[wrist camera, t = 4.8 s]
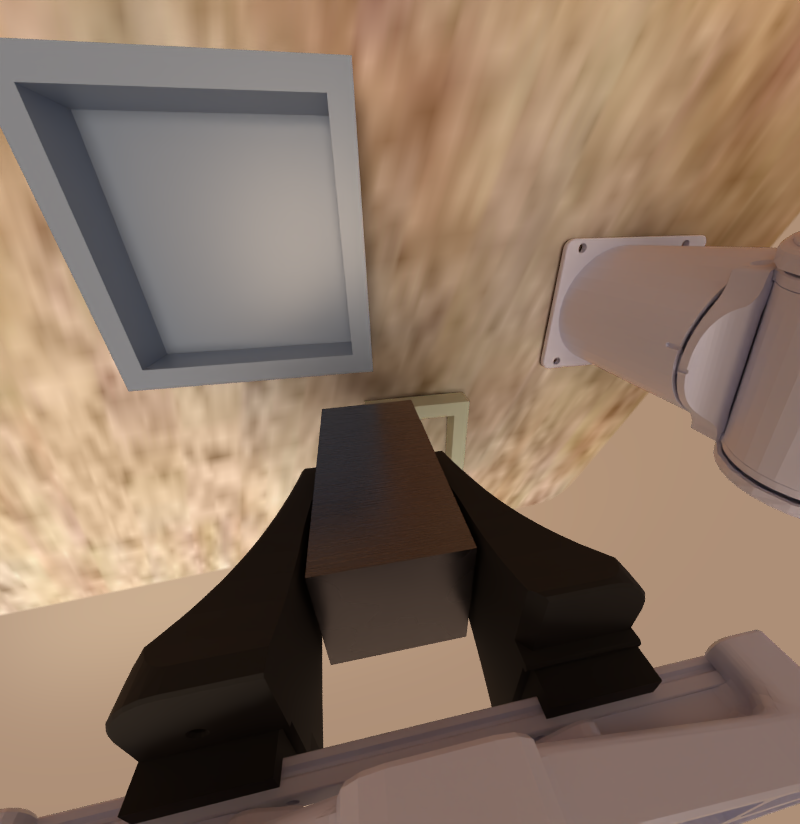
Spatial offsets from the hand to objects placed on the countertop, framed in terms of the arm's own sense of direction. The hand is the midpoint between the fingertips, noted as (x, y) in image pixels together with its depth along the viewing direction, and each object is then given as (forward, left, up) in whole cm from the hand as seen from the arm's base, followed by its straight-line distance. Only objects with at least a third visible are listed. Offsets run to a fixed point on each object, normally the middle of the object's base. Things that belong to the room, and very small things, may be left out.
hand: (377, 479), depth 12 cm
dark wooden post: (0, 0, -3) cm, 3 cm away
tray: (+5, -8, -10) cm, 14 cm away
